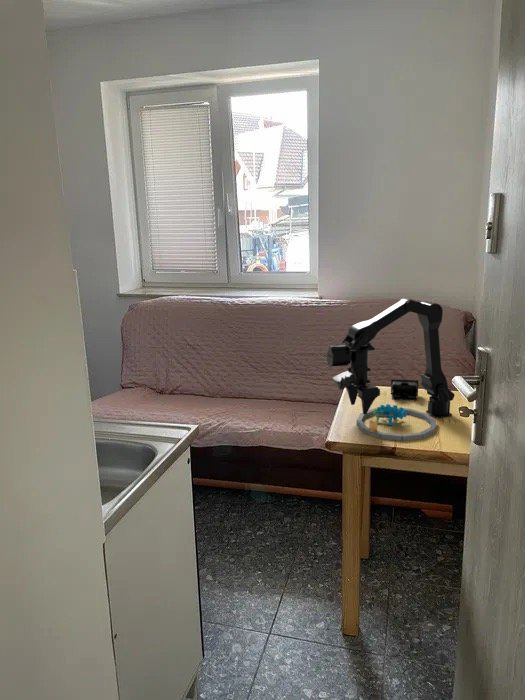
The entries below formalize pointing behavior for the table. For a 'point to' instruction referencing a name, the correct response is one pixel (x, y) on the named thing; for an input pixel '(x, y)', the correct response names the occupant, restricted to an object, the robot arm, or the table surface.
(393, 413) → the blue spiky figure
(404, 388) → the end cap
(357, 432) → the table surface
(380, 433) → the ring
